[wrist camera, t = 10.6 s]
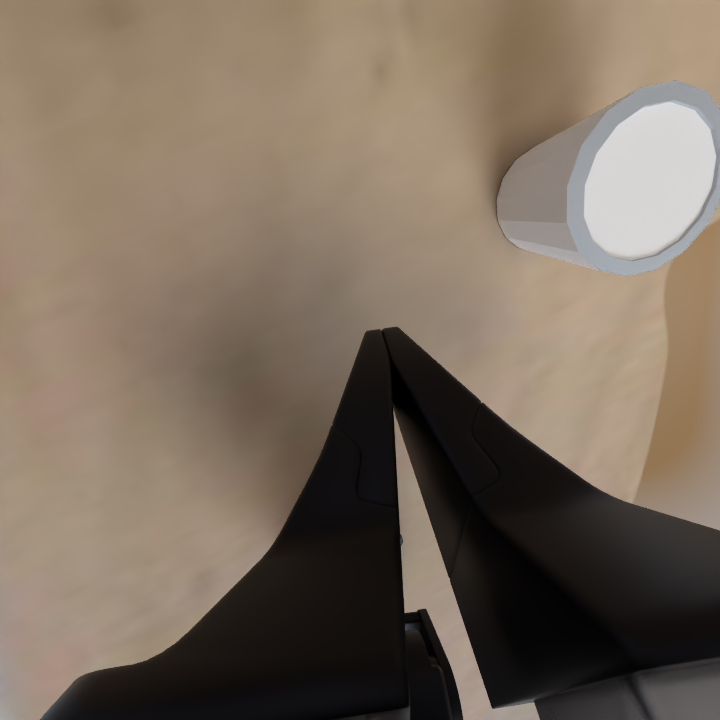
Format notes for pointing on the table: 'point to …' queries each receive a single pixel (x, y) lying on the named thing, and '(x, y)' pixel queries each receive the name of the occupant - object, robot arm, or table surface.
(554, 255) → the shot glass
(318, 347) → the table surface
